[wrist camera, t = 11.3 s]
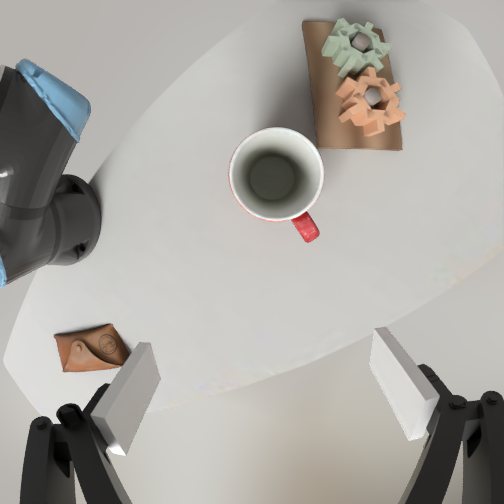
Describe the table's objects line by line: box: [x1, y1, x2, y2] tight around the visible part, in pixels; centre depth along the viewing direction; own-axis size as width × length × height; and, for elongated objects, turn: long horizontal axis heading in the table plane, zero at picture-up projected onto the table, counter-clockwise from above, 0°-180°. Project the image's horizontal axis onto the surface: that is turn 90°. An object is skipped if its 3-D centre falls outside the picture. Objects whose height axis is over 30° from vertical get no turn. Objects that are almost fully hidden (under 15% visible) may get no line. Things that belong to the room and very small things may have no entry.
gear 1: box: [321, 18, 391, 78], centre depth 30 cm, size 9×8×5 cm
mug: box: [229, 127, 324, 243], centre depth 33 cm, size 13×9×14 cm
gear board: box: [302, 21, 402, 151], centre depth 32 cm, size 13×21×8 cm, turn 4°
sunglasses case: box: [54, 324, 130, 372], centre depth 45 cm, size 18×7×7 cm, turn 108°
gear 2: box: [335, 67, 406, 136], centre depth 32 cm, size 9×8×5 cm
